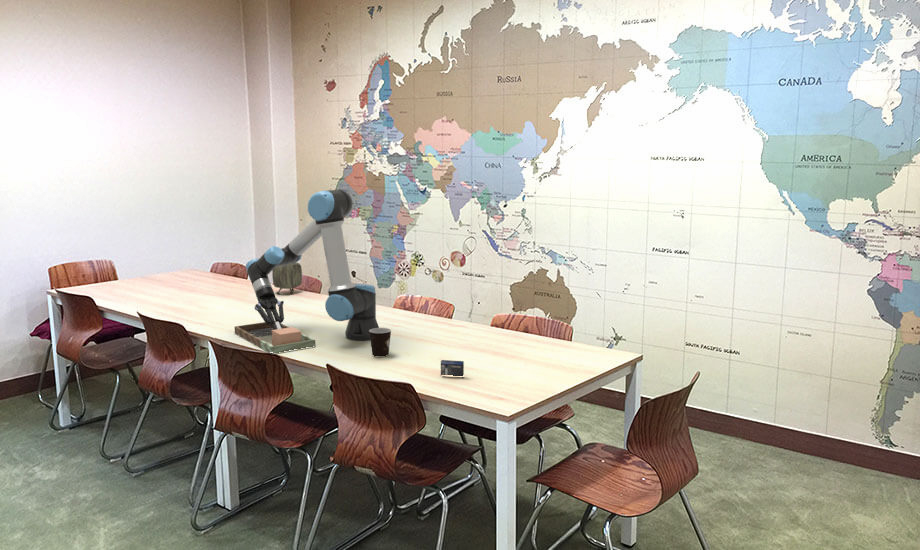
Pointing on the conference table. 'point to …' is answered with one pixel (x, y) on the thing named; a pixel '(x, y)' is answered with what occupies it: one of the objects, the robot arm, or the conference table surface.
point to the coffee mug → (380, 341)
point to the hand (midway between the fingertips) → (280, 336)
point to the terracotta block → (285, 336)
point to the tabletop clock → (287, 276)
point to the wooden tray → (250, 329)
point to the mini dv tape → (452, 367)
